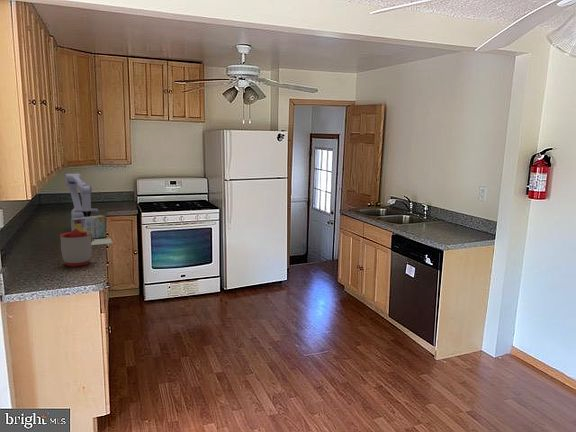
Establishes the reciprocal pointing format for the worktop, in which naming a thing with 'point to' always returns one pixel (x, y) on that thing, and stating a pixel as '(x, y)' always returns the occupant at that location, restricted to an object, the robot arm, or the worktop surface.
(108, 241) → the mat
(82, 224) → the snack box
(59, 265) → the worktop surface
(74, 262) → the citrus juicer
